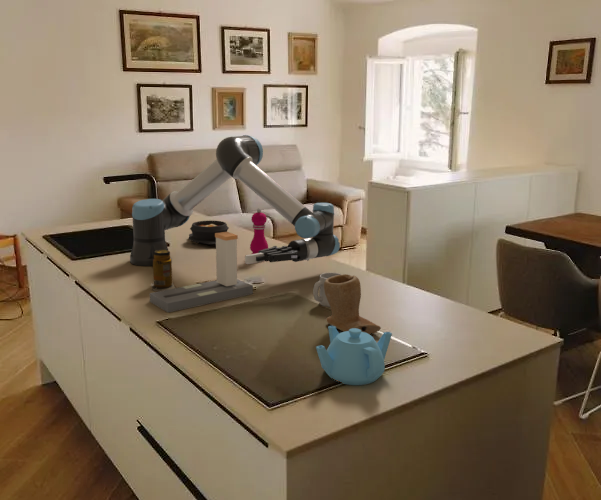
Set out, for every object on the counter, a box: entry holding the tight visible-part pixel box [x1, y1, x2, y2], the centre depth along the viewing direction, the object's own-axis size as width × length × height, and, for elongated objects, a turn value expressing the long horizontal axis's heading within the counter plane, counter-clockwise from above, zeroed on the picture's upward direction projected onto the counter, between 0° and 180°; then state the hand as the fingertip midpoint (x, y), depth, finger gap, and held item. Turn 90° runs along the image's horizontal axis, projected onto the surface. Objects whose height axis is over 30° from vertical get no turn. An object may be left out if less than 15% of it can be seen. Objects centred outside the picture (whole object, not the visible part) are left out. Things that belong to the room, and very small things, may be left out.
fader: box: [215, 231, 239, 286], centre depth 190 cm, size 4×6×16 cm
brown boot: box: [324, 273, 382, 335], centre depth 161 cm, size 15×12×15 cm
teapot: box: [315, 325, 393, 386], centre depth 135 cm, size 15×15×11 cm
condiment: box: [150, 249, 176, 292], centre depth 197 cm, size 7×8×12 cm
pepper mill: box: [249, 208, 269, 254], centre depth 235 cm, size 7×7×20 cm
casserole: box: [187, 220, 230, 246], centre depth 263 cm, size 25×19×8 cm
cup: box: [312, 272, 343, 308], centre depth 182 cm, size 7×10×9 cm
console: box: [149, 278, 254, 313], centre depth 187 cm, size 30×12×3 cm, turn 129°
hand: (246, 259), depth 195 cm, fingers closed
